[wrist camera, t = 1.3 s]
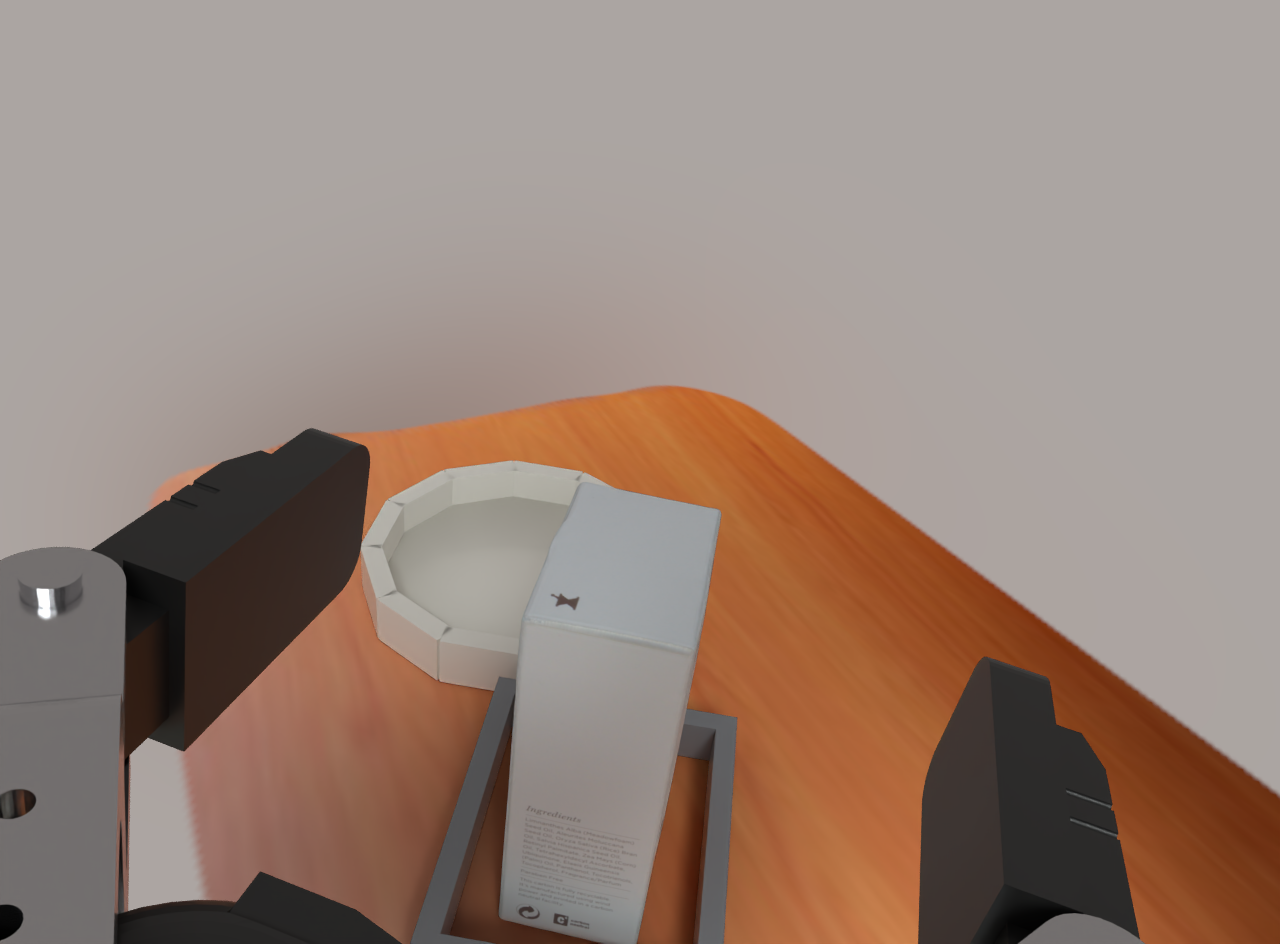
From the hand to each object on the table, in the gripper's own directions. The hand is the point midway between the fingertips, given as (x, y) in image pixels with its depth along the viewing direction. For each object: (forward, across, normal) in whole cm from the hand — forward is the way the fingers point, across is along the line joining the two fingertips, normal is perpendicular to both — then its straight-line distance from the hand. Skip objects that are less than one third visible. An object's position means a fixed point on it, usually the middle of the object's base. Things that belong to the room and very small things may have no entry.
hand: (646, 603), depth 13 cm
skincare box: (+12, +1, +19) cm, 22 cm away
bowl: (+23, +8, +18) cm, 30 cm away
